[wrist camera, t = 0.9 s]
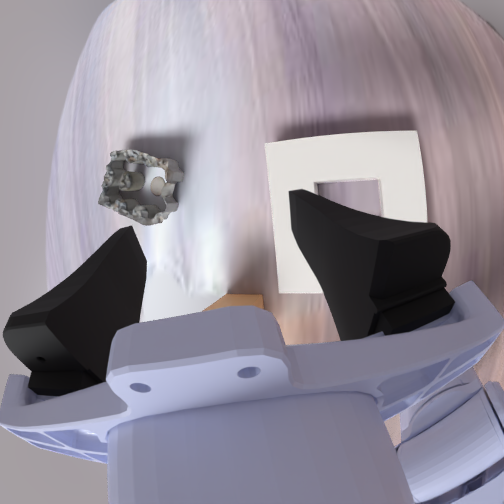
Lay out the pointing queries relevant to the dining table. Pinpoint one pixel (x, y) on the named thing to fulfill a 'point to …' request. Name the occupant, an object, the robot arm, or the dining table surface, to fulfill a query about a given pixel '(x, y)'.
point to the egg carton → (139, 186)
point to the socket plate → (340, 170)
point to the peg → (237, 301)
